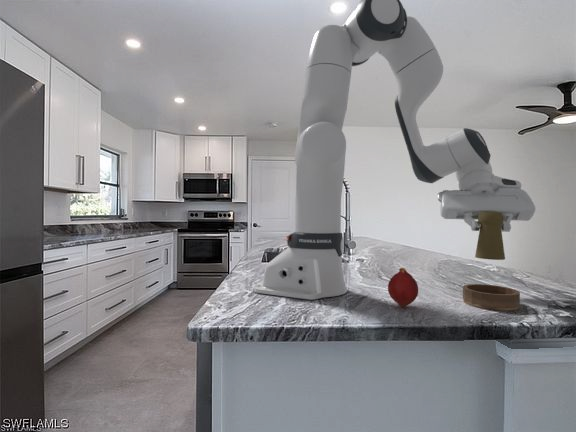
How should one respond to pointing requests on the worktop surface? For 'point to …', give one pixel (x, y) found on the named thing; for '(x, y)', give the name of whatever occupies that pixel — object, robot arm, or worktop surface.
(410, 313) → the worktop surface
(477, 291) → the spice holder
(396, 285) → the onion
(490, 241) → the cork
